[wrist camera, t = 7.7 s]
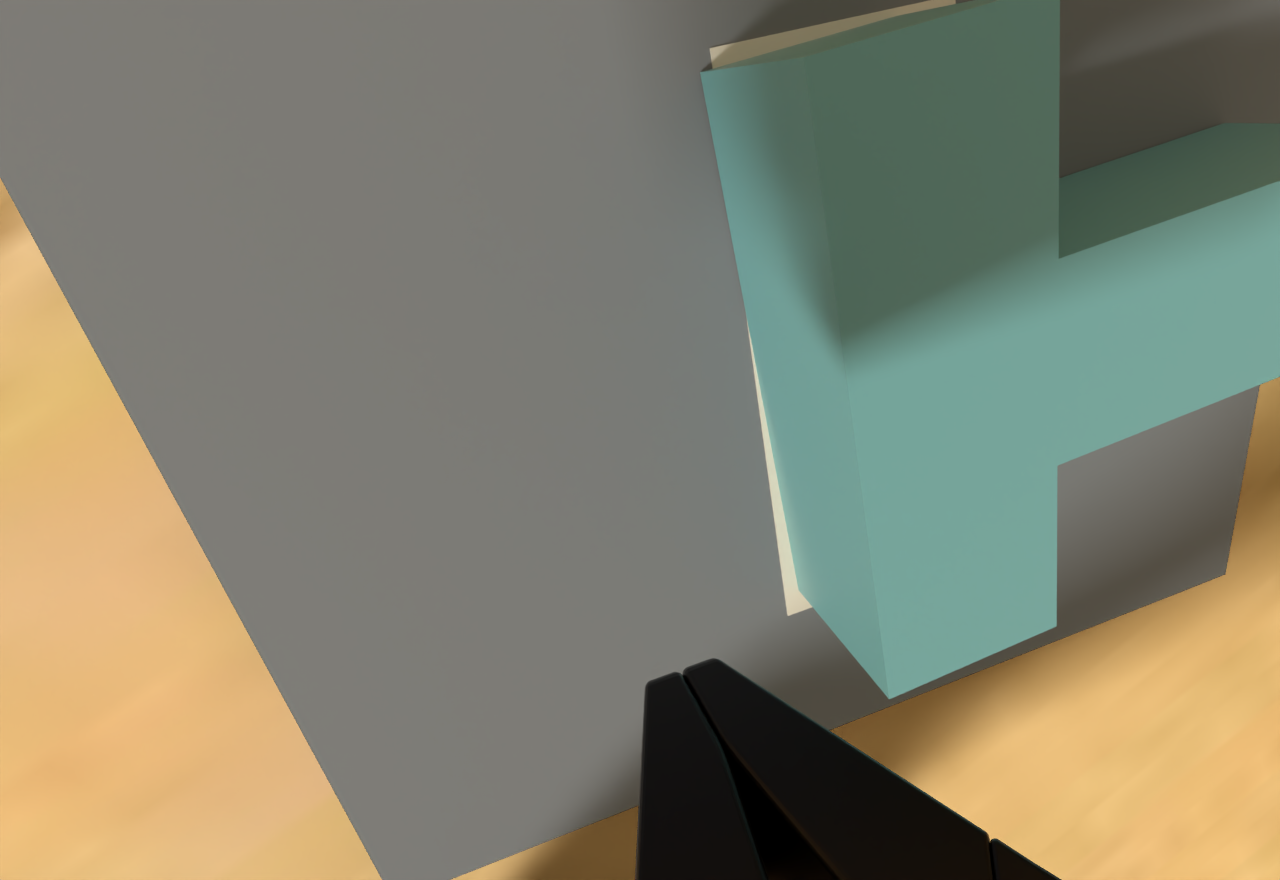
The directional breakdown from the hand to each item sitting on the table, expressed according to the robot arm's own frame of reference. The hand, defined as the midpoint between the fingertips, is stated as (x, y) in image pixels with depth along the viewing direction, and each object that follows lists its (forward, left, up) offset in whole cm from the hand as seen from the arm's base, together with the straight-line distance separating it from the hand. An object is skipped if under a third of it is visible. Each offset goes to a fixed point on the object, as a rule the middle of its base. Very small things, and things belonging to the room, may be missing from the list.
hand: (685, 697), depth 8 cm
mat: (0, -6, -9) cm, 10 cm away
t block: (0, -10, -8) cm, 13 cm away
